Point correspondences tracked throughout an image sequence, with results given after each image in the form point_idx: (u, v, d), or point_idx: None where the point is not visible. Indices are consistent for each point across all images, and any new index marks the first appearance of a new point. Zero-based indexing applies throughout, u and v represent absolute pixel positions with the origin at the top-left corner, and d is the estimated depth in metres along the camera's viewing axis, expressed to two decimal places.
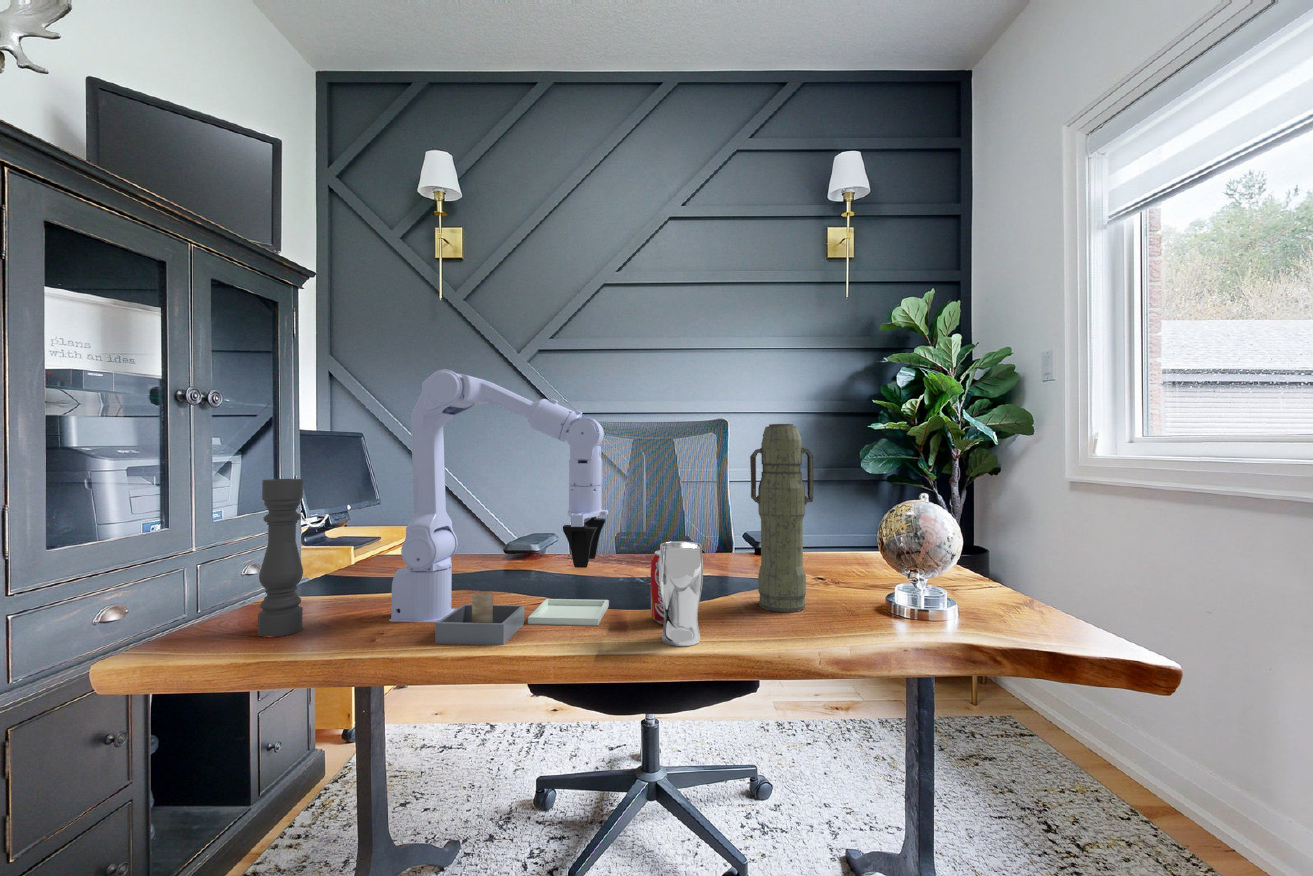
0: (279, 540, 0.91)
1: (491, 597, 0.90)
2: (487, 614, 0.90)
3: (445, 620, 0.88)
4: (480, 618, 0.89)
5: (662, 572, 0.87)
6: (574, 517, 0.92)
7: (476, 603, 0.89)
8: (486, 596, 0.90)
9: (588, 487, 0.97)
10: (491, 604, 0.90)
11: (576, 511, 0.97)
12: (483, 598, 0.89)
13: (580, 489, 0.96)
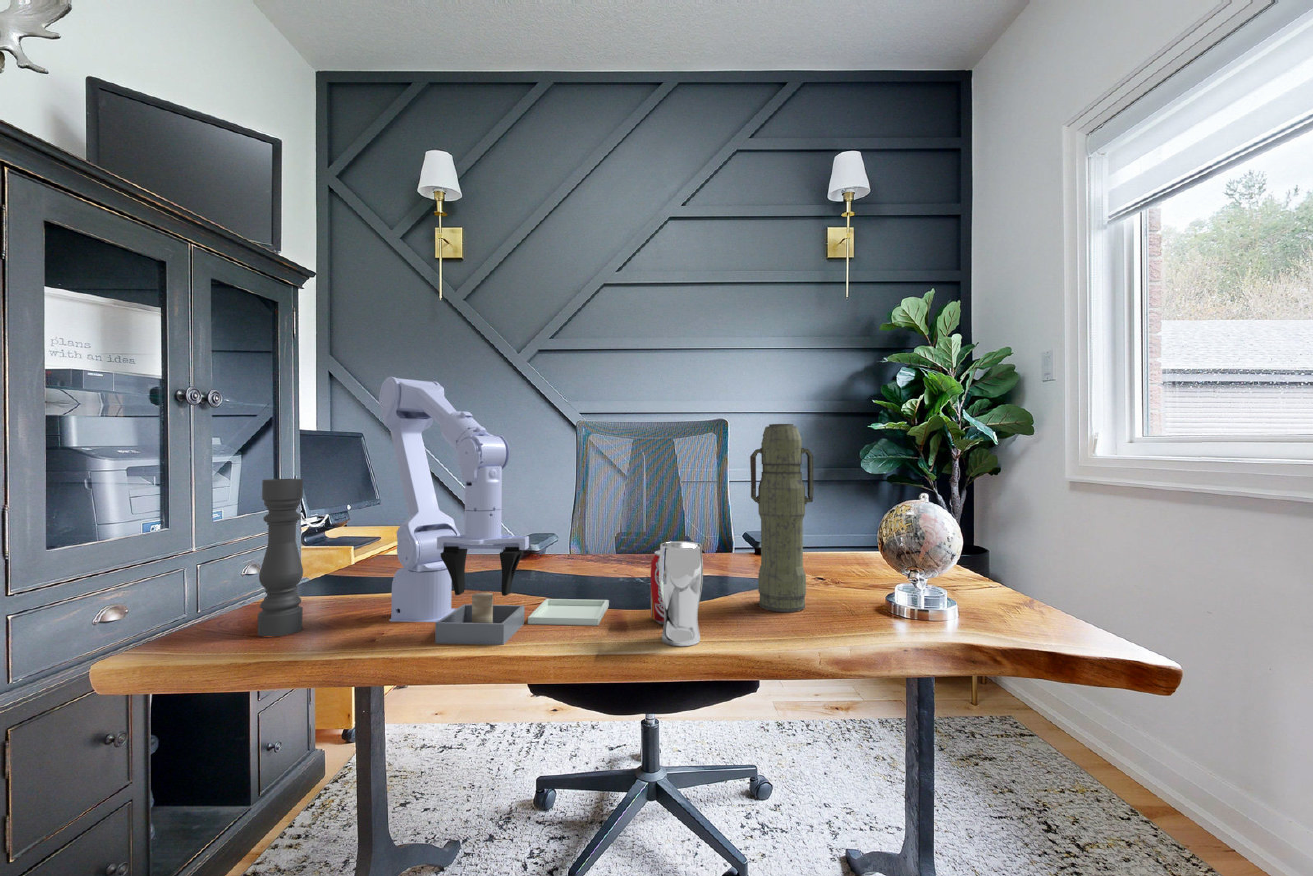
0: (279, 540, 0.91)
1: (491, 597, 0.90)
2: (487, 614, 0.90)
3: (445, 620, 0.88)
4: (480, 618, 0.89)
5: (663, 572, 0.87)
6: None
7: (476, 603, 0.89)
8: (486, 596, 0.90)
9: None
10: (491, 604, 0.90)
11: None
12: (483, 598, 0.89)
13: None
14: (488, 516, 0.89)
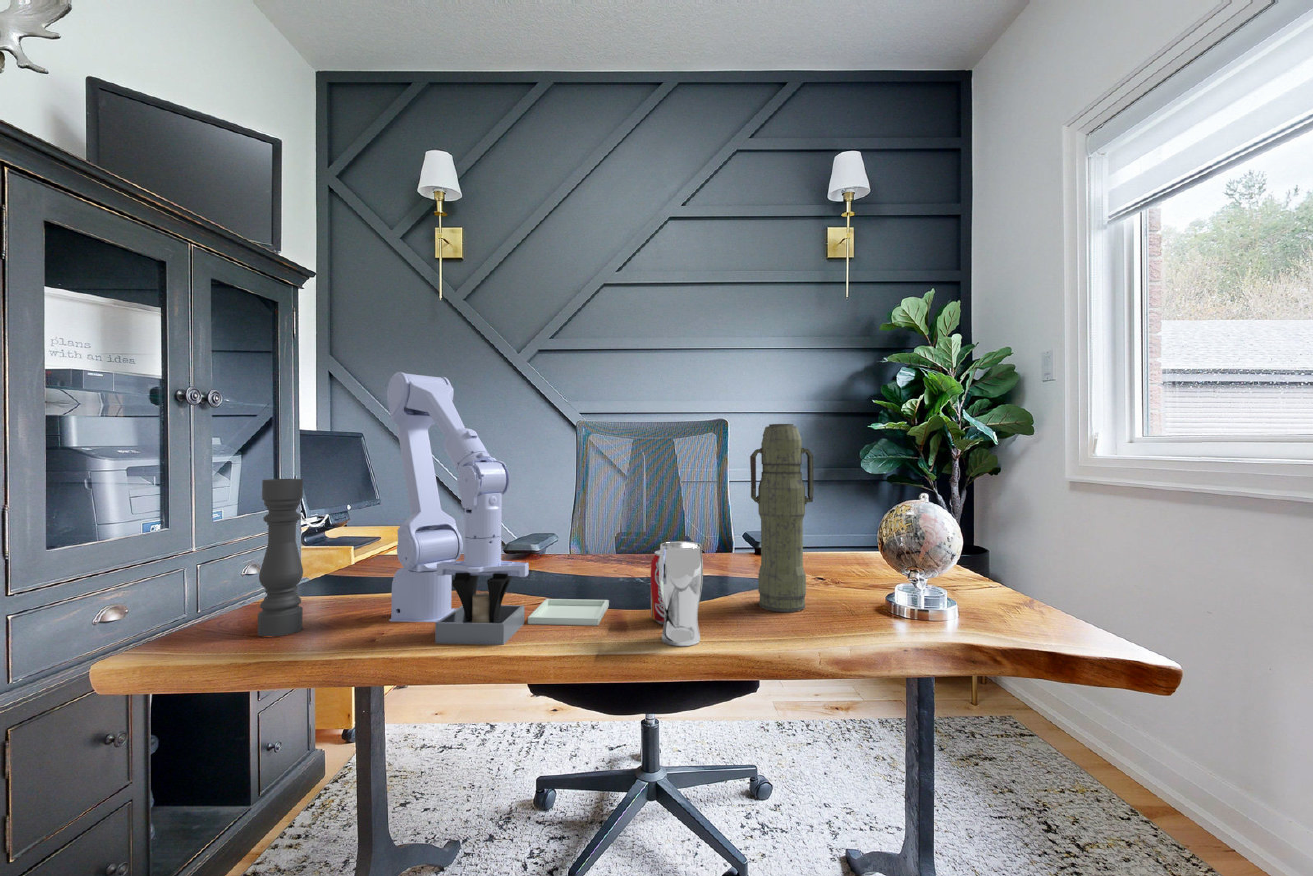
0: (279, 540, 0.91)
1: None
2: (487, 614, 0.90)
3: (445, 620, 0.88)
4: (480, 618, 0.89)
5: (662, 572, 0.87)
6: None
7: (476, 603, 0.89)
8: (486, 596, 0.90)
9: None
10: None
11: None
12: (483, 598, 0.89)
13: None
14: (488, 543, 0.89)
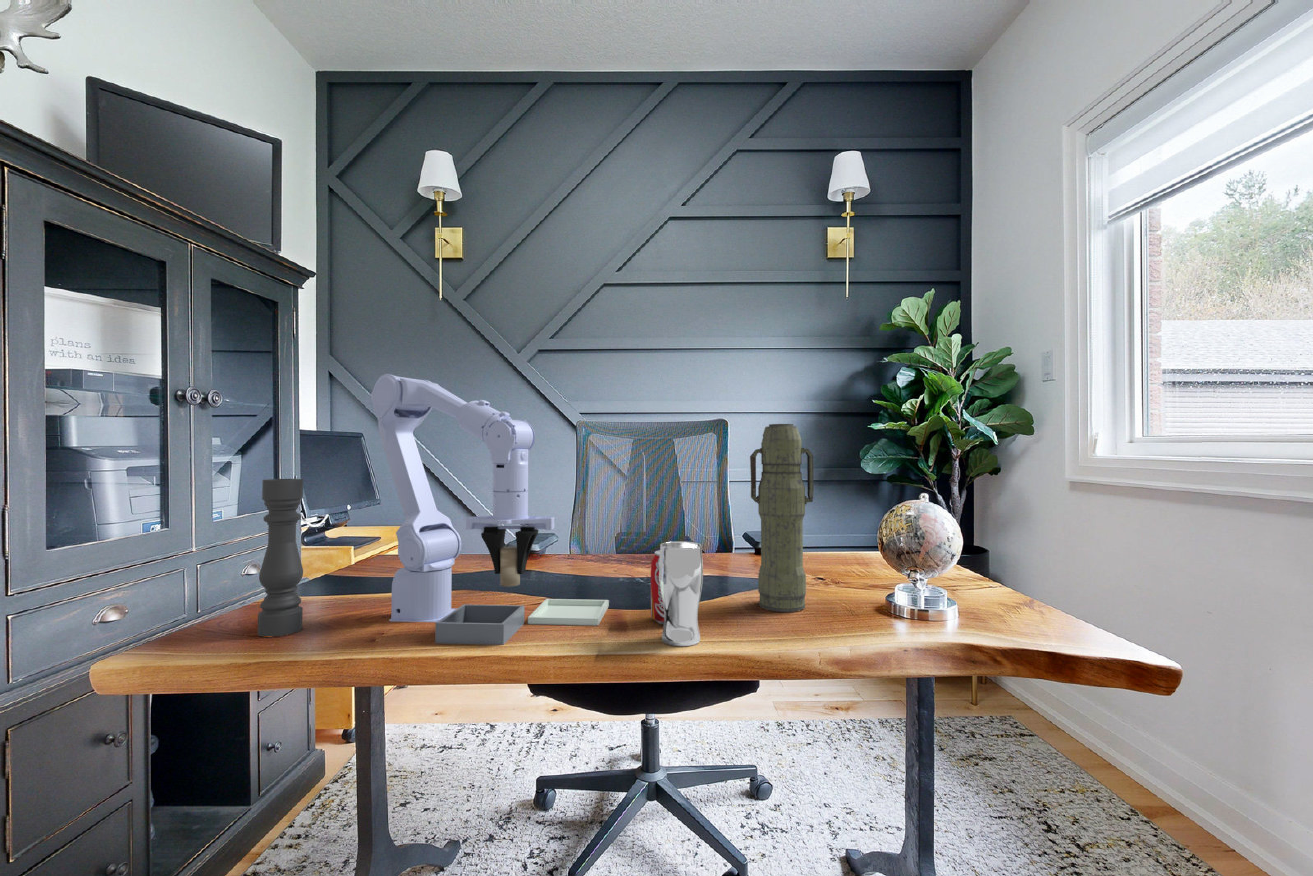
0: (279, 540, 0.91)
1: None
2: (515, 566, 0.93)
3: (445, 620, 0.88)
4: (508, 570, 0.92)
5: (662, 572, 0.87)
6: None
7: (504, 555, 0.92)
8: (514, 549, 0.93)
9: None
10: None
11: None
12: (511, 550, 0.92)
13: None
14: (516, 497, 0.92)
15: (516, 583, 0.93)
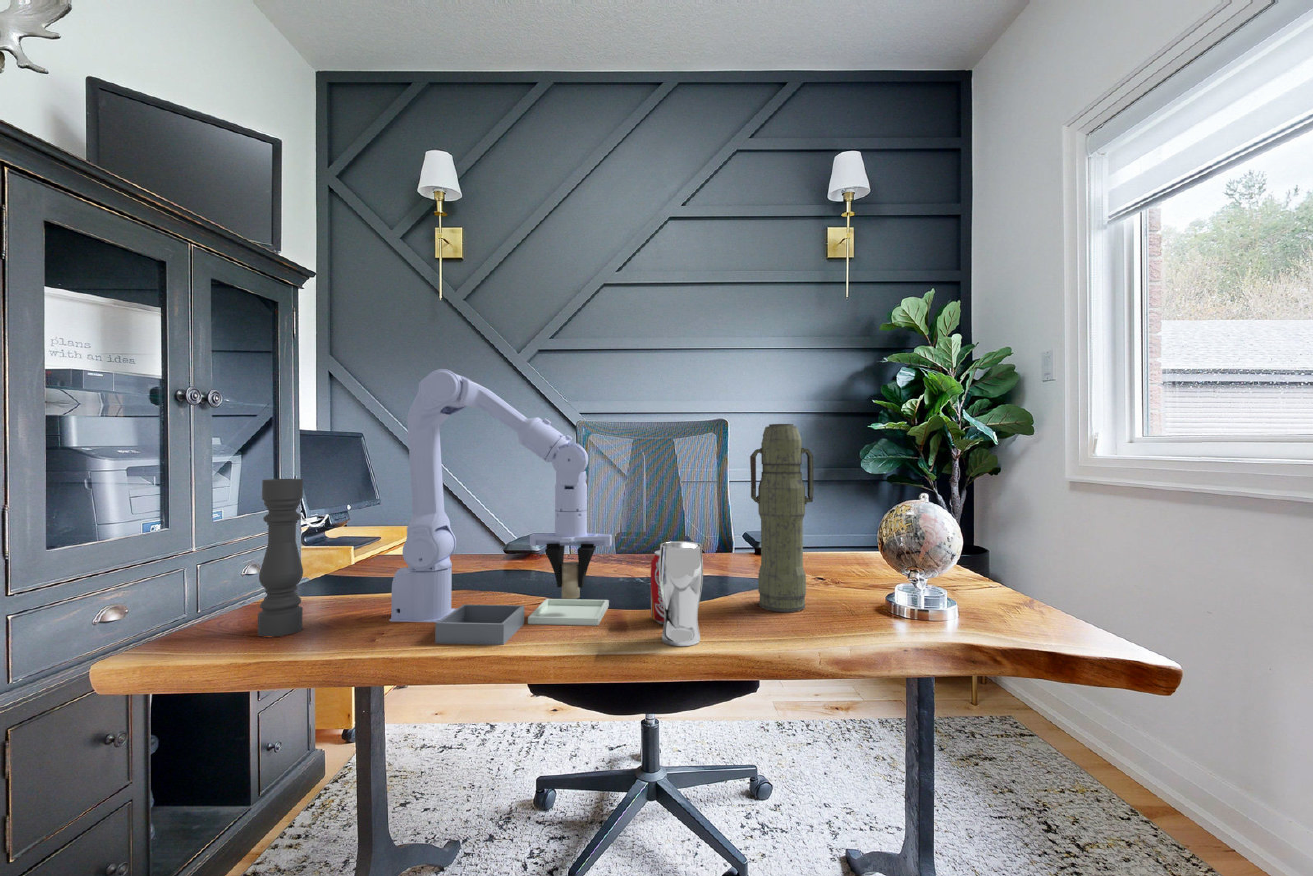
0: (279, 540, 0.91)
1: None
2: (576, 580, 1.00)
3: (445, 620, 0.88)
4: (570, 583, 0.99)
5: (663, 572, 0.87)
6: None
7: (566, 570, 0.99)
8: (574, 564, 1.00)
9: (555, 511, 1.00)
10: None
11: None
12: (572, 565, 0.99)
13: None
14: (577, 516, 0.99)
15: (577, 596, 1.00)
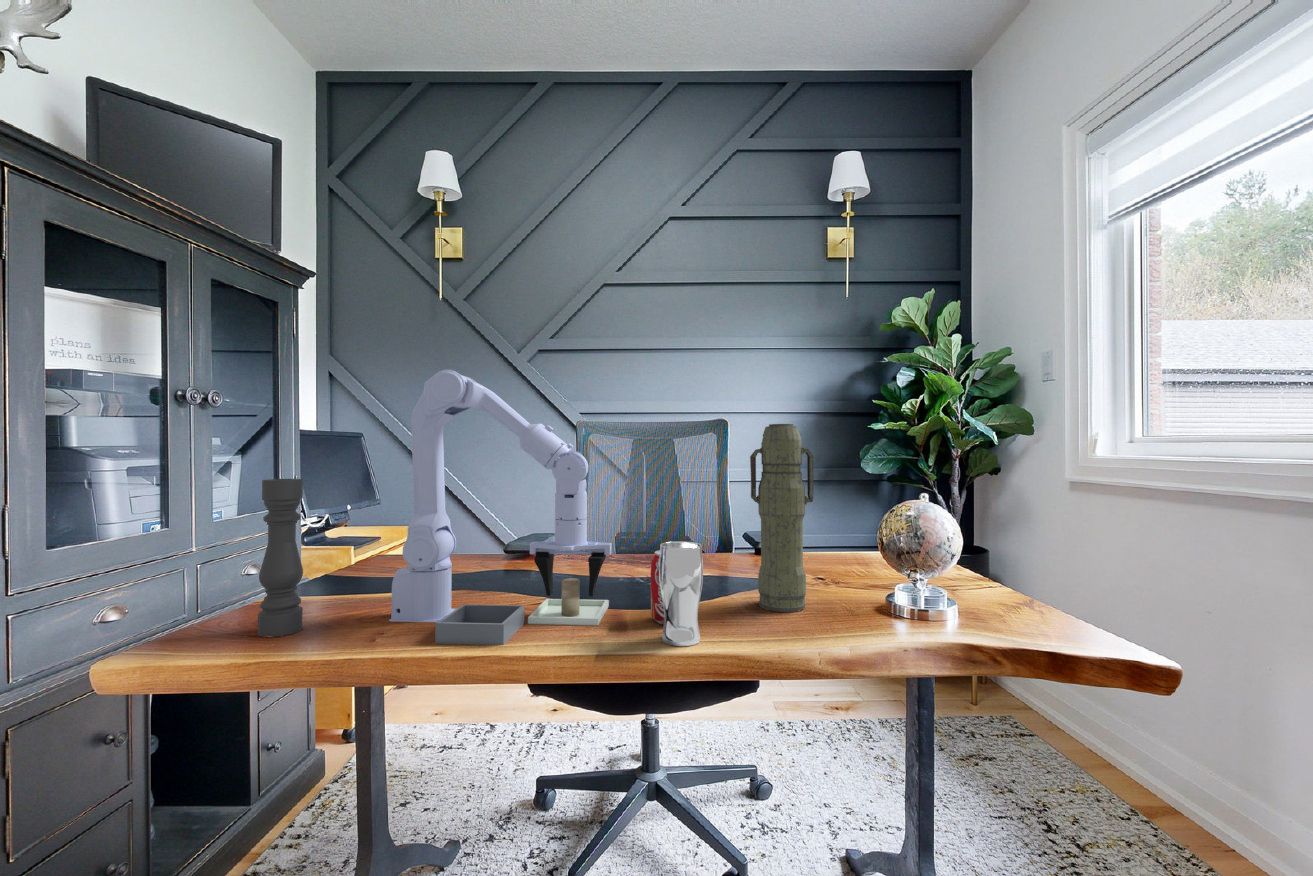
0: (279, 540, 0.91)
1: (578, 582, 1.01)
2: (576, 597, 1.00)
3: (445, 620, 0.88)
4: (570, 601, 0.99)
5: (662, 572, 0.87)
6: None
7: (566, 587, 0.99)
8: (574, 581, 1.00)
9: (555, 520, 1.00)
10: (578, 588, 1.01)
11: None
12: (572, 583, 0.99)
13: None
14: (577, 525, 0.99)
15: (577, 613, 1.00)
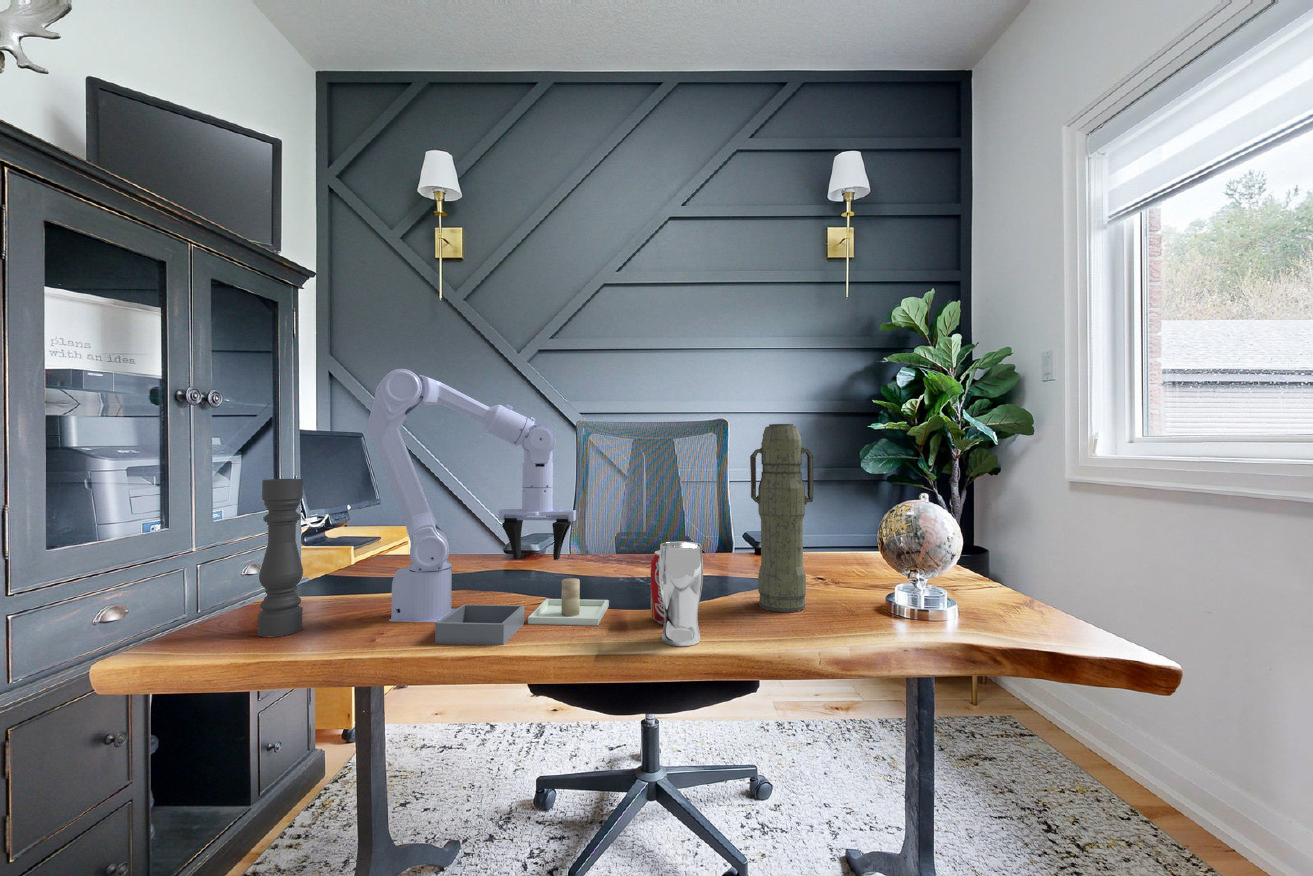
0: (279, 540, 0.91)
1: (578, 582, 1.01)
2: (576, 597, 1.00)
3: (445, 620, 0.88)
4: (570, 601, 0.99)
5: (662, 572, 0.87)
6: None
7: (566, 587, 0.99)
8: (574, 581, 1.00)
9: (522, 488, 1.07)
10: (578, 588, 1.01)
11: None
12: (572, 583, 0.99)
13: None
14: (542, 492, 1.05)
15: (577, 613, 1.00)
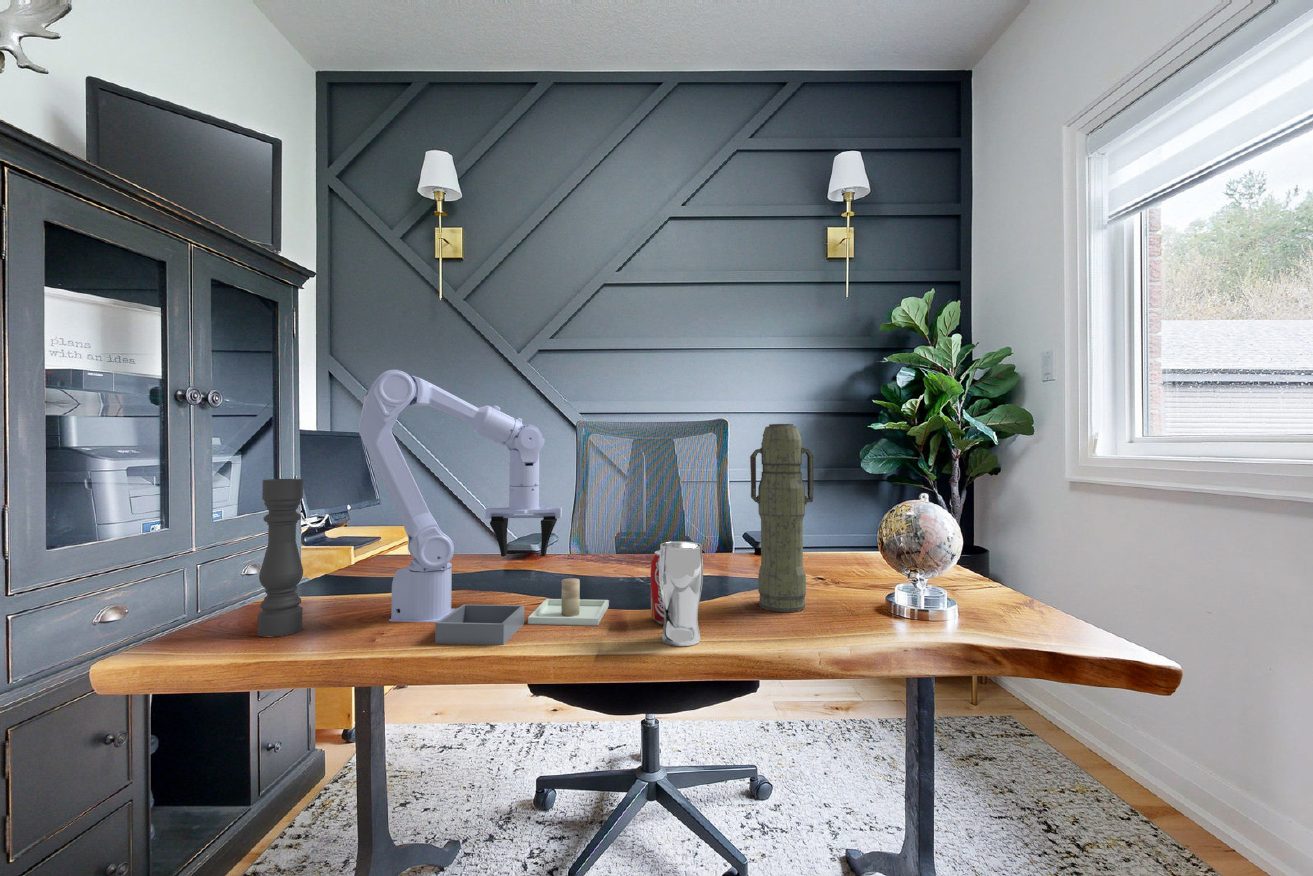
0: (279, 540, 0.91)
1: (578, 582, 1.00)
2: (576, 597, 1.00)
3: (445, 620, 0.88)
4: (570, 601, 0.99)
5: (663, 572, 0.87)
6: None
7: (566, 587, 0.99)
8: (574, 581, 1.00)
9: (509, 487, 1.09)
10: (578, 588, 1.00)
11: None
12: (572, 583, 0.99)
13: None
14: (530, 490, 1.08)
15: (577, 613, 1.00)
